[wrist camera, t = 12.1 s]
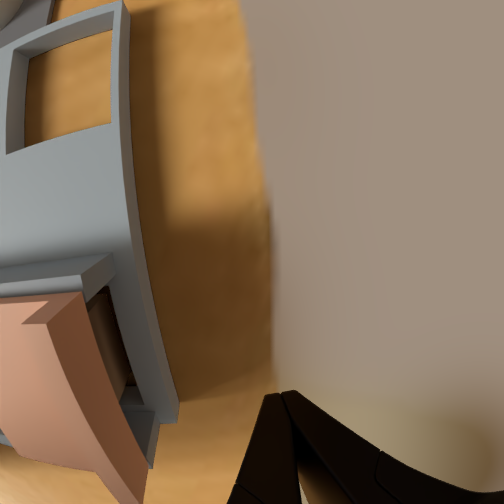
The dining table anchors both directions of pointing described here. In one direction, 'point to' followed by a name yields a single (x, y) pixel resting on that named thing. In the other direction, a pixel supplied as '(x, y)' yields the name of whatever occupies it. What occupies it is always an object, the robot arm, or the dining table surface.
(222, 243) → the dining table surface
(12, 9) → the peg
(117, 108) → the puzzle board
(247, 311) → the dining table surface
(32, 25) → the mat
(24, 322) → the cover
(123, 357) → the walnut cube
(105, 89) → the dining table surface
